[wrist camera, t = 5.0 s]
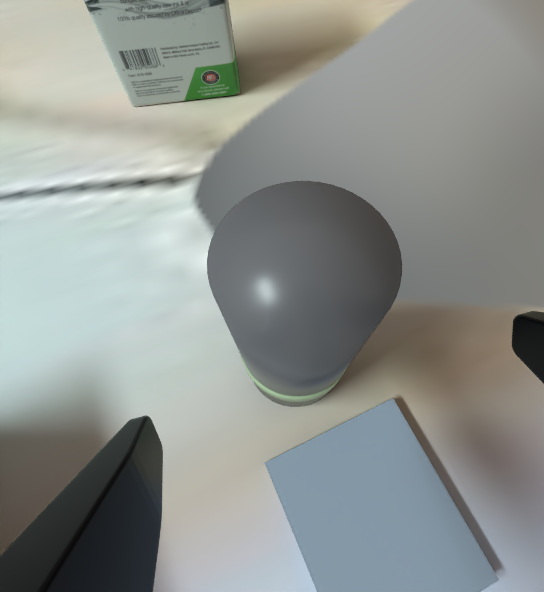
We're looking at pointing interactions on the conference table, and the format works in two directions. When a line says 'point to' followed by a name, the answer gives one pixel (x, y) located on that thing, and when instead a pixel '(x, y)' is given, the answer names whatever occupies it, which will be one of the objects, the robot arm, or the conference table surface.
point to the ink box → (169, 48)
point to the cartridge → (302, 284)
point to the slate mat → (376, 511)
